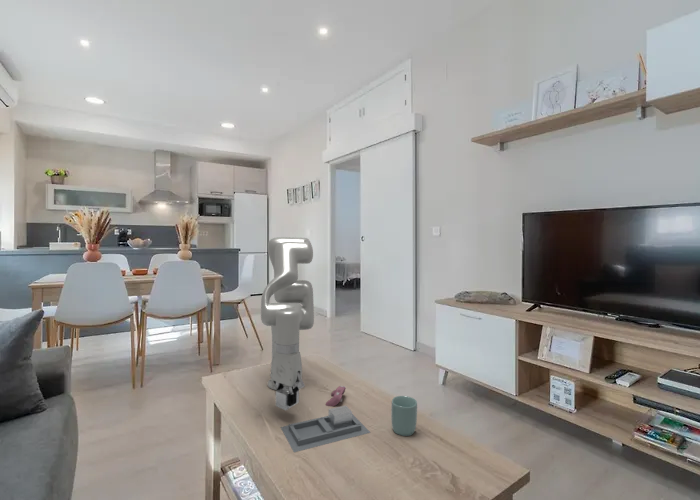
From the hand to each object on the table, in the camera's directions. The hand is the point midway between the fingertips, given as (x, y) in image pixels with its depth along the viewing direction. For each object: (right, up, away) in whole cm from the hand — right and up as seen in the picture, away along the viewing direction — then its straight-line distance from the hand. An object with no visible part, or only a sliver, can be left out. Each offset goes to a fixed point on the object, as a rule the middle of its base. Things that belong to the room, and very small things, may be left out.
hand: (286, 401), depth 114 cm
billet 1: (0, -1, 0) cm, 1 cm away
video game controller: (+16, -7, +13) cm, 21 cm away
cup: (+37, -7, -6) cm, 38 cm away
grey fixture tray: (+13, -7, -7) cm, 16 cm away
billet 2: (+17, -6, -4) cm, 19 cm away
